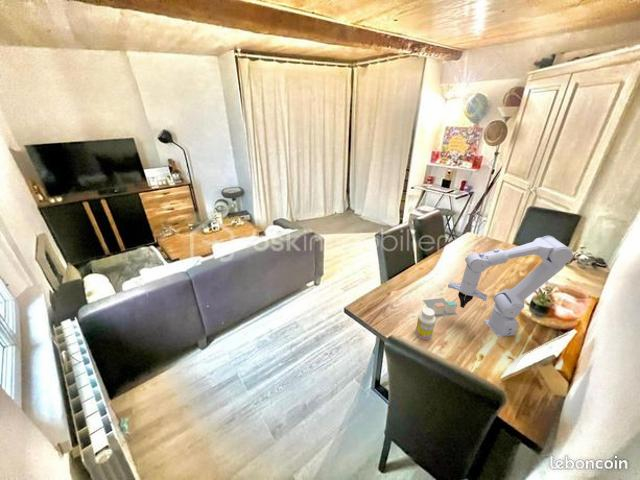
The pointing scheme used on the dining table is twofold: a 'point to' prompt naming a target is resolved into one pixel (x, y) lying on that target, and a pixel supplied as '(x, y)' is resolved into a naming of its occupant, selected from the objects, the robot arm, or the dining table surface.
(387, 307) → the dining table surface
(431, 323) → the supplement bottle
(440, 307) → the slab
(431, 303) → the mat
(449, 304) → the slab
